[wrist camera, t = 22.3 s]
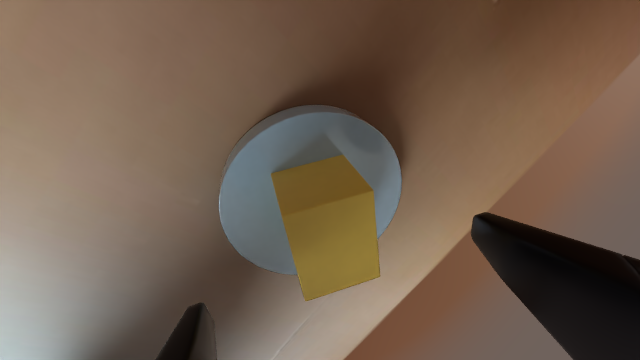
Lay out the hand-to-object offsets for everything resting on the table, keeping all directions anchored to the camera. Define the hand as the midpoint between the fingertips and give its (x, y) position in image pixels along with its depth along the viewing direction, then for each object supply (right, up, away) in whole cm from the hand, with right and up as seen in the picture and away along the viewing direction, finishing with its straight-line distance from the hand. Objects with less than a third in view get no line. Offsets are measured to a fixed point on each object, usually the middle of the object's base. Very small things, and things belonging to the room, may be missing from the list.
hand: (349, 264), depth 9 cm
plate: (-1, +2, +4) cm, 5 cm away
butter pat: (-1, +2, +3) cm, 4 cm away
